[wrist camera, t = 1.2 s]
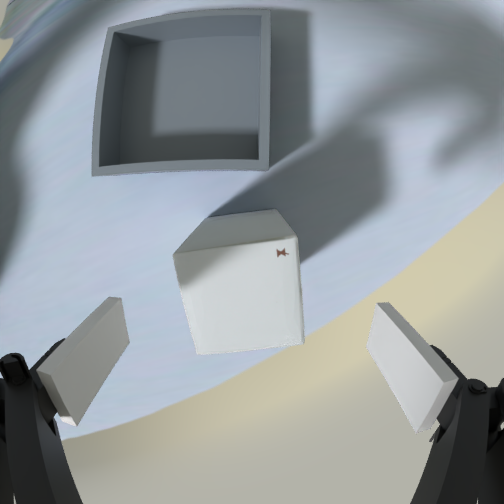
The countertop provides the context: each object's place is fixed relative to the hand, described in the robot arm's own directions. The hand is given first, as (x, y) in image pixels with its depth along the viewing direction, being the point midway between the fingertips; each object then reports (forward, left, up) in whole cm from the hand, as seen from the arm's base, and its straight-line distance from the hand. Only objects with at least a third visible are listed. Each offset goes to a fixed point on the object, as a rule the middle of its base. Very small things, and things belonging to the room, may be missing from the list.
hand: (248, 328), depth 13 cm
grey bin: (-6, +16, -16) cm, 23 cm away
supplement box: (0, 0, -16) cm, 16 cm away
